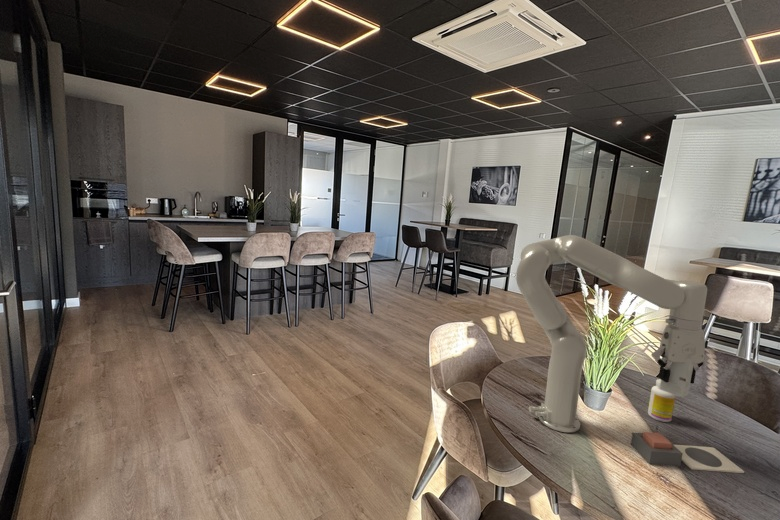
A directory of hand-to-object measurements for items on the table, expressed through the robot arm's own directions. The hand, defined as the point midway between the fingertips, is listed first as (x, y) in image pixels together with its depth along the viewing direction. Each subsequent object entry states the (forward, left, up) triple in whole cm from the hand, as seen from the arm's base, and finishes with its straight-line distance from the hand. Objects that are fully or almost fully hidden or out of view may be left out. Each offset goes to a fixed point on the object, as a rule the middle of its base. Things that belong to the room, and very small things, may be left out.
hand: (676, 380), depth 108 cm
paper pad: (+5, -7, -20) cm, 22 cm away
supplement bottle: (+7, +14, -20) cm, 26 cm away
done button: (-8, -7, -17) cm, 21 cm away
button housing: (-8, -7, -20) cm, 23 cm away
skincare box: (0, 0, -4) cm, 4 cm away
